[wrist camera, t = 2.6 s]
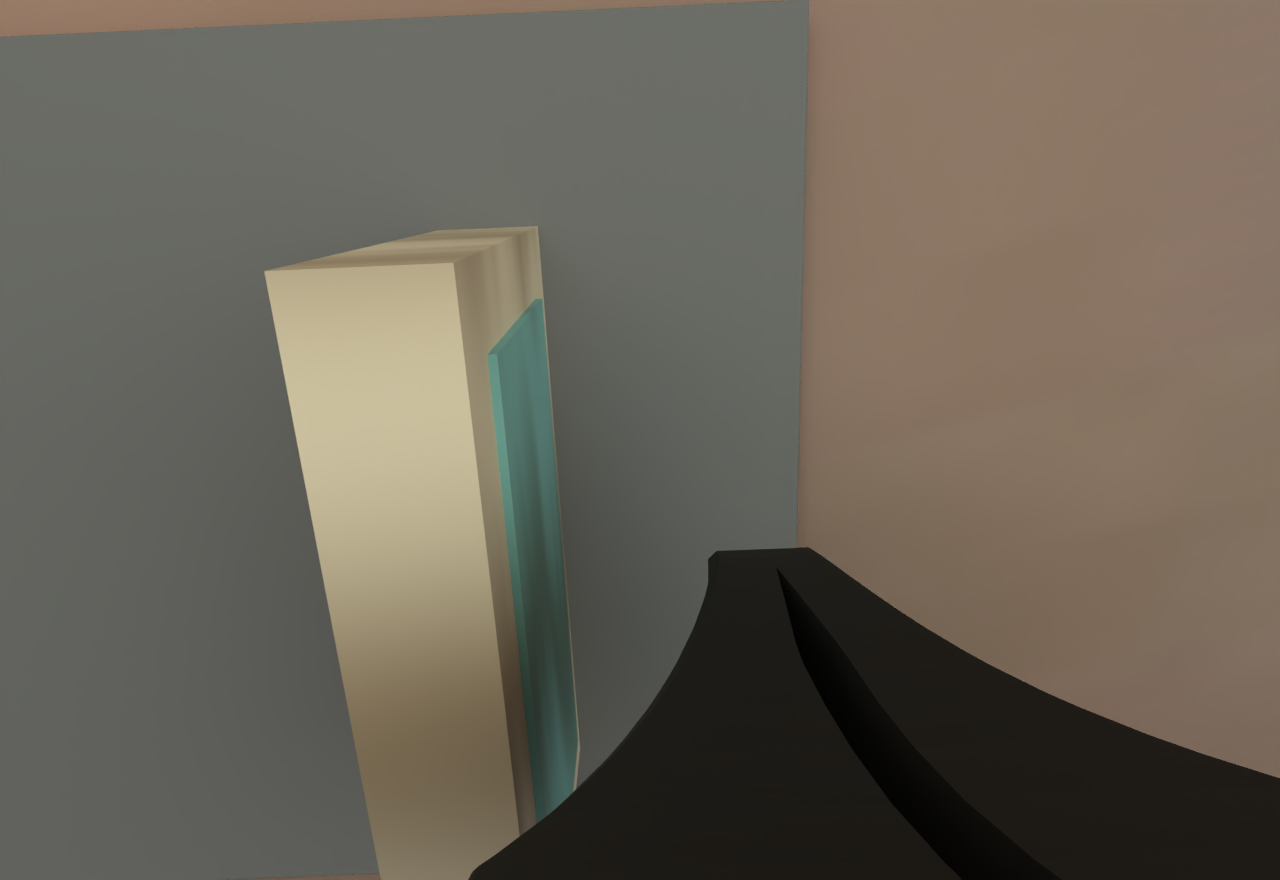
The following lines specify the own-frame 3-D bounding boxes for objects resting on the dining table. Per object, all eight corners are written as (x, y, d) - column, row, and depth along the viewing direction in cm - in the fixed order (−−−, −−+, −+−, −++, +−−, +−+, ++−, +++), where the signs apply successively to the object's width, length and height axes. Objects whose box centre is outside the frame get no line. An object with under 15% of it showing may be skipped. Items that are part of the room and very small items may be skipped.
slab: (585, 747, 15) (555, 1080, 10) (499, 751, 15) (420, 1085, 10) (544, 225, 12) (465, 261, 7) (436, 231, 12) (264, 270, 7)
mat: (783, 834, 17) (788, 857, 16) (-38, 866, 17) (-62, 890, 16) (801, 8, 12) (808, -1, 11) (-368, 62, 12) (-418, 56, 11)
